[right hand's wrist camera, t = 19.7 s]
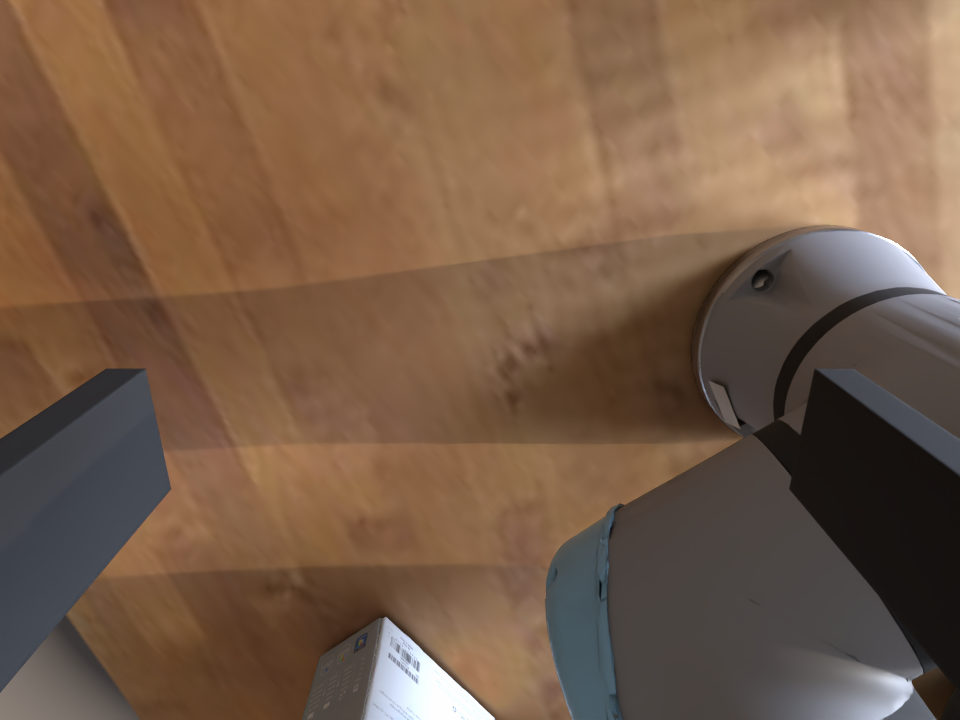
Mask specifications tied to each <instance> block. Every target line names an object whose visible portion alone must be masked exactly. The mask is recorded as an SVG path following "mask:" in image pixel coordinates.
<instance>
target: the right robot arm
mask: <svg viewBox="0 0 960 720" xmlns="http://www.w3.org/2000/svg"><path fill="white" fill-rule="evenodd" d="M691 358H692V367H693V372H694V376H695V379H696V382H697V385H698V387H699V389H700V391H701V393H702V395H703V397H704V398H705V400H706V401H707V403H708V404H709V405H710V407H711V408H712V409H713V410H714V412H715V413H716V414H717V415H718V416H719V418H720V419H721V420H722V421H723V422H724V423H725V424H726V425H727V426H728V427H729V428H730V429H732V430H733V431H734V432H736V433H737V434H739V435H740V436H742V437H744V438H743V439H741V440H740V441H738V442H736V443H734V444H733V445H731V446H729V447H728V448H726V449H724V450H722V451H721V452H719V453H717V454H716V455H714V456H712V457H710V458H709V459H707V460H705V461H703V462H701V463H700V464H698V465H696V466H694V467H693V468H691V469H689V470H687V471H685V472H684V473H682V474H680V475H678V476H676V477H675V478H673V479H671V480H669V481H667V482H666V483H664V484H662V485H660V486H658V487H657V488H655V489H653V490H651V491H649V492H648V493H646V494H644V495H642V496H641V497H639V498H637V499H635V500H633V501H632V502H630V503H628V504H626V505H623V504H618V505H616V506H614V507H612V508H611V509H610V510H609V511H608V512H607V515H606V516H605V517H604V518H602V519H601V520H599V521H598V522H596V523H594V524H593V525H591V526H590V527H588V528H587V529H585V530H584V531H582V532H580V533H579V534H577V535H576V536H574V537H573V538H571V539H569V540H568V541H567V542H565V543H564V544H563V545H562V546H561V547H560V548H559V549H558V551H557V552H556V554H555V555H554V557H553V559H552V561H551V564H550V567H549V570H548V575H547V579H546V599H545V606H546V620H547V628H548V634H549V640H550V645H551V650H552V655H553V659H554V663H555V667H556V671H557V675H558V678H559V682H560V685H561V688H562V691H563V694H564V697H565V700H566V703H567V706H568V709H569V712H570V714H571V717H572V720H937V719H936V718H935V717H934V716H933V714H932V713H931V711H930V710H929V709H928V707H927V706H926V704H925V703H924V701H923V700H922V699H921V697H920V696H919V694H918V693H917V692H916V690H915V689H914V687H913V685H912V683H911V682H912V680H913V679H915V678H917V677H918V676H920V675H922V674H925V673H926V672H928V671H930V670H932V669H935V668H937V667H939V668H940V670H941V671H942V672H943V673H944V674H945V676H946V677H947V678H948V679H949V680H950V682H951V683H952V684H953V685H954V686H955V687H956V689H957V690H958V691H959V692H960V300H958V299H955V298H953V297H950V296H947V295H946V294H945V293H944V292H943V291H942V289H941V288H940V287H939V286H938V285H937V284H936V283H935V282H934V281H933V280H932V279H931V278H930V277H929V276H928V275H927V273H926V272H925V270H924V269H923V268H922V266H921V265H920V264H919V263H918V262H917V260H916V259H915V258H914V257H913V256H911V255H910V254H909V253H908V252H907V251H906V250H904V249H903V248H902V247H900V246H899V245H897V244H895V243H894V242H892V241H890V240H888V239H886V238H883V237H880V236H878V235H875V234H871V233H868V232H864V231H861V230H857V229H853V228H849V227H843V226H830V225H824V226H812V227H805V228H800V229H796V230H792V231H789V232H786V233H783V234H780V235H778V236H775V237H773V238H771V239H769V240H767V241H765V242H763V243H761V244H759V245H757V246H756V247H754V248H753V249H751V250H750V251H748V252H747V253H746V254H744V255H743V256H742V257H741V258H739V259H738V260H737V261H736V262H735V263H734V264H732V265H731V266H730V267H729V268H728V269H727V270H726V271H725V273H724V274H723V275H722V276H721V277H720V278H719V280H718V281H717V282H716V284H715V285H714V286H713V288H712V289H711V291H710V292H709V294H708V296H707V297H706V299H705V301H704V303H703V305H702V307H701V309H700V312H699V314H698V317H697V320H696V323H695V327H694V331H693V337H692V346H691ZM170 490H171V487H170V482H169V477H168V472H167V468H166V463H165V458H164V454H163V449H162V444H161V439H160V435H159V430H158V425H157V420H156V416H155V411H154V406H153V402H152V397H151V392H150V387H149V383H148V378H147V373H146V369H105V370H104V371H102V372H101V373H99V374H98V375H96V376H95V377H93V378H92V379H90V380H89V381H87V382H86V383H84V384H83V385H81V386H80V387H78V388H77V389H75V390H74V391H72V392H71V393H69V394H68V395H66V396H65V397H63V398H62V399H60V400H59V401H57V402H56V403H54V404H53V405H51V406H50V407H48V408H47V409H45V410H44V411H42V412H41V413H39V414H38V415H36V416H34V417H33V418H31V419H30V420H28V421H27V422H25V423H24V424H22V425H21V426H19V427H18V428H16V429H15V430H13V431H12V432H10V433H9V434H7V435H6V436H4V437H3V438H1V439H0V692H1V691H2V690H3V689H4V687H5V686H6V685H7V684H8V683H9V682H10V680H11V679H12V678H13V677H14V676H15V674H16V673H17V672H18V671H19V670H20V668H21V667H22V666H23V665H24V664H25V662H26V661H27V660H28V659H29V658H30V657H31V655H32V654H33V653H34V652H35V651H36V649H37V648H38V647H39V646H40V645H41V643H42V642H43V641H44V640H45V639H46V637H47V636H48V635H49V634H50V633H51V631H52V630H53V629H54V628H55V627H56V625H57V624H58V623H59V622H60V621H61V620H62V618H63V617H64V616H65V615H66V614H67V612H68V611H69V610H70V609H71V608H72V606H73V605H74V604H75V603H76V602H77V601H78V599H79V598H80V597H81V596H82V595H83V593H84V592H85V591H86V590H87V589H88V587H89V586H90V585H91V584H92V583H93V581H94V580H95V579H96V578H97V577H98V575H99V574H100V573H101V572H102V571H103V570H104V568H105V567H106V566H107V565H108V564H109V562H110V561H111V560H112V559H113V558H114V556H115V555H116V554H117V553H118V552H119V550H120V549H121V548H122V547H123V546H124V544H125V543H126V542H127V541H128V540H129V539H130V537H131V536H132V535H133V534H134V533H135V531H136V530H137V529H138V528H139V527H140V525H141V524H142V523H143V522H144V521H145V519H146V518H147V517H148V516H149V515H150V514H151V512H152V511H153V510H154V509H155V508H156V506H157V505H158V504H159V503H160V502H161V500H162V499H163V498H164V497H165V496H166V494H167V493H168V492H169V491H170Z"/></svg>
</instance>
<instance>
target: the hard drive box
mask: <svg viewBox="0 0 960 720" xmlns="http://www.w3.org/2000/svg"><path fill="white" fill-rule="evenodd" d="M302 720H495V718H494V717H493V716H492V715H491V714H489V713H488V712H487V711H486V710H485V709H484V708H483V707H482V706H481V705H480V704H479V703H478V702H477V701H476V700H475V699H474V698H473V697H472V696H471V695H470V694H469V693H468V692H467V691H466V690H464V689H463V688H461V687H460V686H459V685H458V684H457V683H456V682H455V681H454V680H453V679H452V678H451V677H450V676H449V675H448V674H447V673H446V672H445V671H444V670H443V669H441V668H440V667H439V666H438V665H437V664H436V663H435V662H434V661H433V660H432V659H431V658H430V657H429V656H428V655H427V654H425V653H424V652H423V651H422V650H421V648H420V647H419V646H418V645H416V644H415V643H414V642H413V641H412V640H411V639H410V638H409V637H408V636H407V635H405V634H404V633H403V632H402V631H401V630H400V629H399V628H398V627H396V626H395V625H394V624H393V623H392V622H391V621H390V620H389V619H388V618H387V617H384V618H378V619H377V620H375V621H374V622H372V623H370V624H369V625H368V626H366V627H365V628H363V629H361V630H360V631H358V632H357V633H355V634H354V635H352V636H351V637H349V638H348V639H346V640H345V641H343V642H342V643H340V644H338V645H337V646H335V647H334V648H332V649H331V650H329V651H328V652H326V653H325V654H323V655H322V656H320V658H319V661H318V665H317V668H316V672H315V675H314V679H313V682H312V686H311V689H310V693H309V697H308V700H307V703H306V707H305V710H304V714H303V717H302Z"/></svg>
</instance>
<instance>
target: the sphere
mask: <svg viewBox="0 0 960 720" xmlns="http://www.w3.org/2000/svg"><path fill="white" fill-rule="evenodd" d="M940 720H960V692H959V691H958V690H957V689H956V688H955V690H954V692H953V693H952V695H951V697H950V699H949V701H948V703H947V704H946V707H945V709H944V712H943V714H942V717H941V719H940Z"/></svg>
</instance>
